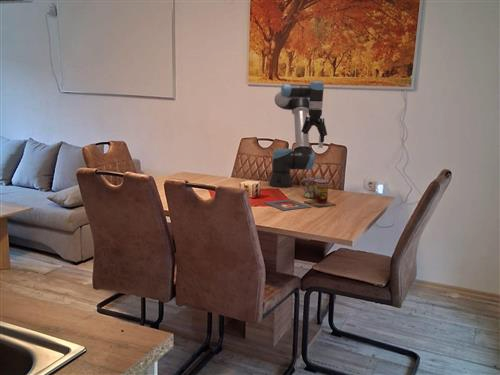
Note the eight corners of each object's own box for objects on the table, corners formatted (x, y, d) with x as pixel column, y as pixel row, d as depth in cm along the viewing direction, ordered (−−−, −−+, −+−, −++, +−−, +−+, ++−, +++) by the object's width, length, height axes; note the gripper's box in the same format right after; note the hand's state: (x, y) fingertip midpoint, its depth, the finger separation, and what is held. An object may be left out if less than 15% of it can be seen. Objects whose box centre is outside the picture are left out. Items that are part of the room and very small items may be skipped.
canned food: (315, 204, 249) (317, 182, 246) (310, 200, 256) (311, 179, 254) (329, 203, 251) (331, 181, 248) (323, 200, 258) (325, 179, 256)
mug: (321, 196, 272) (322, 178, 270) (315, 199, 264) (317, 181, 262) (302, 194, 278) (303, 176, 275) (296, 196, 270) (297, 178, 267)
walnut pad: (304, 202, 255) (304, 201, 255) (321, 200, 262) (321, 199, 261) (318, 207, 245) (318, 206, 245) (335, 205, 252) (335, 203, 252)
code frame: (263, 203, 251) (263, 202, 251) (290, 200, 261) (290, 199, 260) (283, 211, 236) (283, 210, 236) (311, 207, 246) (311, 206, 245)
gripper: (296, 107, 274) (294, 143, 279) (324, 110, 254) (322, 149, 258) (306, 107, 278) (304, 143, 283) (335, 110, 258) (332, 148, 262)
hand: (313, 146), depth 270 cm, fingers open, 13 cm apart
